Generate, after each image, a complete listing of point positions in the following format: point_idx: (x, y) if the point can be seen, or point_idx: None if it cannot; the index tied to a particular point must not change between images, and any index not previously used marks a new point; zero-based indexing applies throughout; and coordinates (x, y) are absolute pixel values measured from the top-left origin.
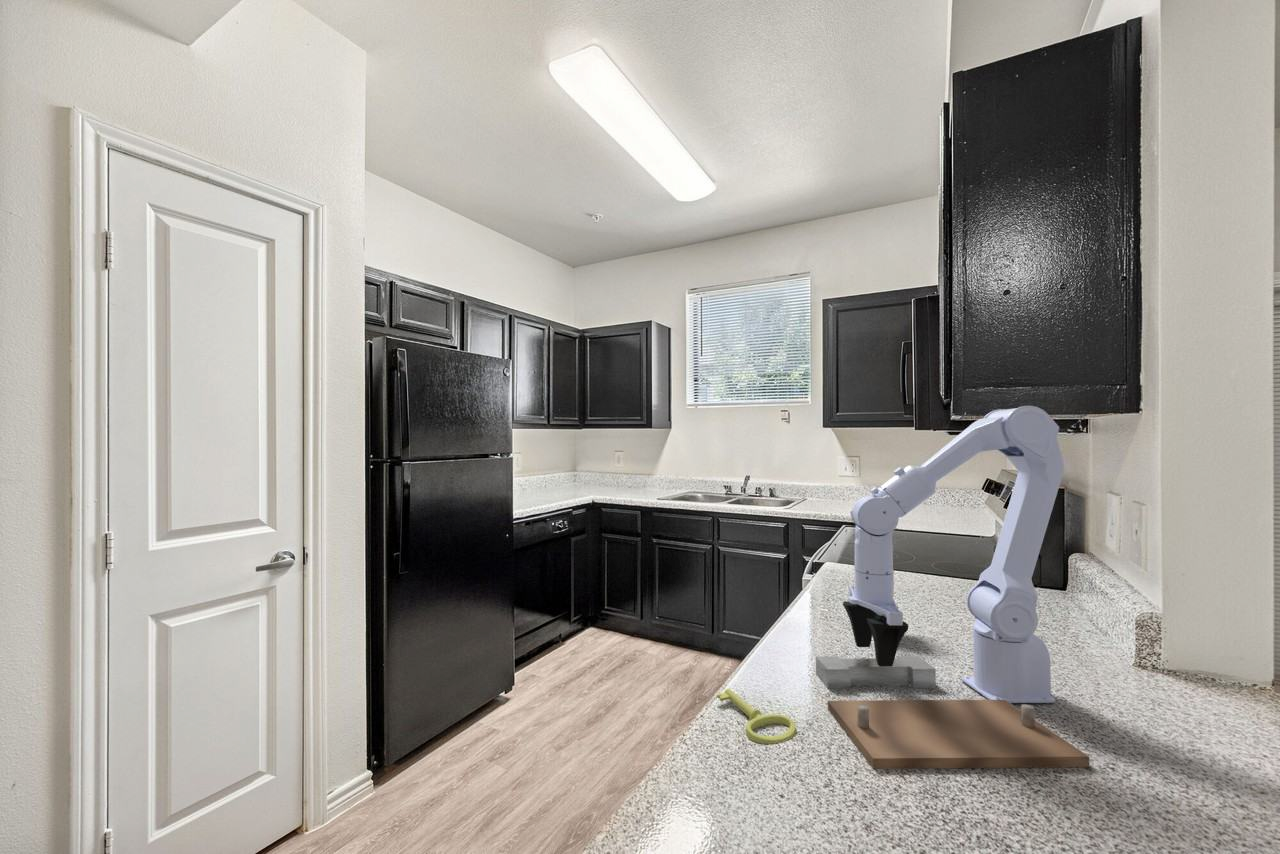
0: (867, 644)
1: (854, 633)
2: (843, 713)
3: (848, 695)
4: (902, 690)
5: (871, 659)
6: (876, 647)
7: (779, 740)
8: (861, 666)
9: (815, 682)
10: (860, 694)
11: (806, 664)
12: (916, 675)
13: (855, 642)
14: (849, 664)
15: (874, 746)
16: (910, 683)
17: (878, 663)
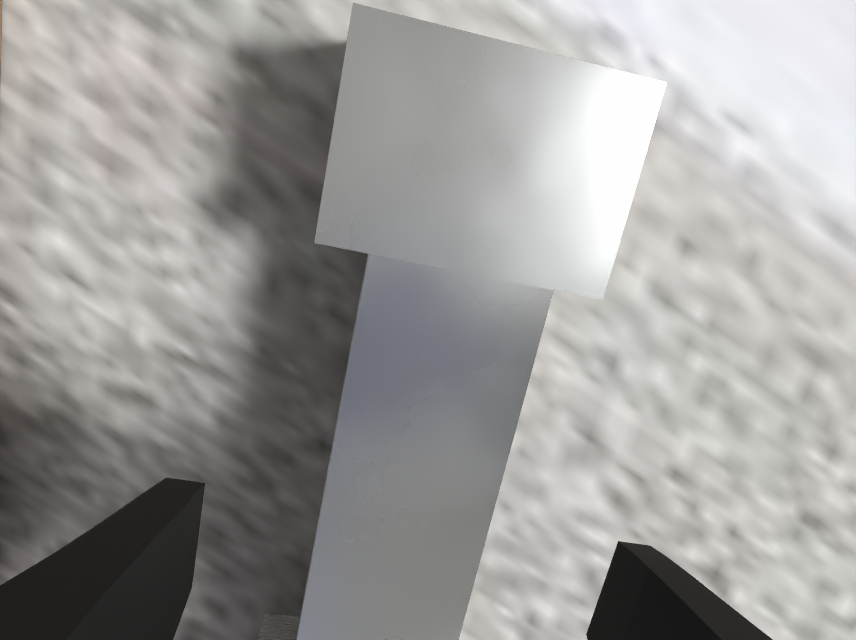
0: (601, 636)
1: (711, 616)
2: None
3: (224, 138)
4: (243, 537)
5: (463, 541)
6: (49, 575)
7: None
8: (353, 382)
9: (475, 6)
10: (227, 238)
11: (775, 131)
12: None
13: (666, 557)
14: (414, 302)
15: None
16: (295, 627)
17: (160, 484)
